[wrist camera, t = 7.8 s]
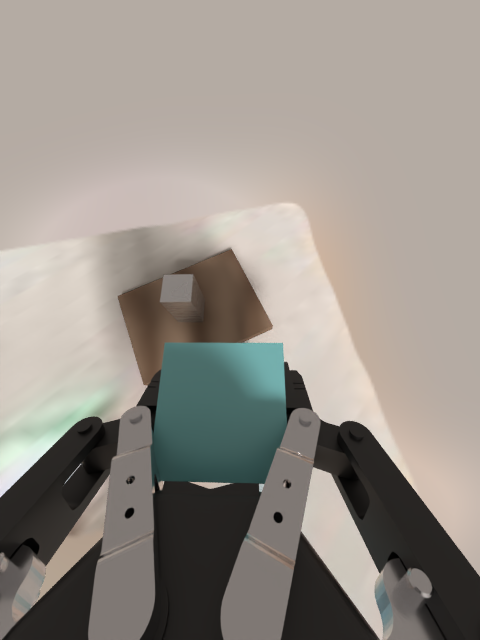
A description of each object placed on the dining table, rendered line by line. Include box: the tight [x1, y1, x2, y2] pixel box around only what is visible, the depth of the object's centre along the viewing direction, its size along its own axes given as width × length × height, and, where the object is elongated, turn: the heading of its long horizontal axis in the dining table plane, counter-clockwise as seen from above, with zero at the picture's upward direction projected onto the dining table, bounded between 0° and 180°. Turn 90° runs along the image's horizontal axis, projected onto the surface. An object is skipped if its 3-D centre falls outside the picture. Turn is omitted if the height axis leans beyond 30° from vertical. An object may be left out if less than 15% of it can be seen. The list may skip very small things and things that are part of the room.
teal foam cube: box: [153, 343, 287, 484], centre depth 14 cm, size 6×6×8 cm
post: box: [160, 274, 205, 322], centre depth 25 cm, size 3×3×6 cm
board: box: [118, 249, 273, 385], centre depth 28 cm, size 16×12×1 cm
